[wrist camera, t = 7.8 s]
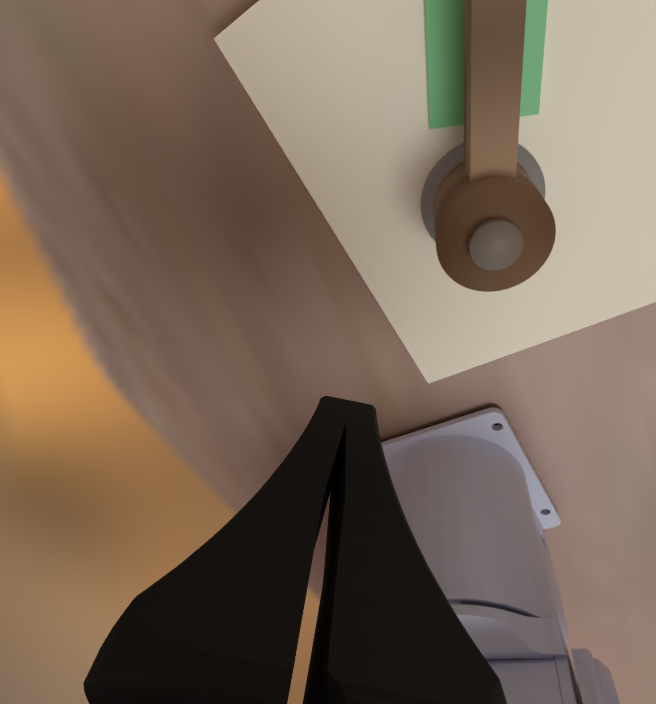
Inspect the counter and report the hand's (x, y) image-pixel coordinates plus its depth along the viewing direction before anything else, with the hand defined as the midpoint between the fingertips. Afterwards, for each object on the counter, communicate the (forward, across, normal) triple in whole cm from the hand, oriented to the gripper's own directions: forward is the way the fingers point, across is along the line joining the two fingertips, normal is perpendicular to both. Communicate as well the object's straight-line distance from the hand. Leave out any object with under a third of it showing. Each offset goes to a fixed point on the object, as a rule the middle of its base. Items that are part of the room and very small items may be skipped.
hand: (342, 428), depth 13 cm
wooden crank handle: (+7, -2, -7) cm, 11 cm away
